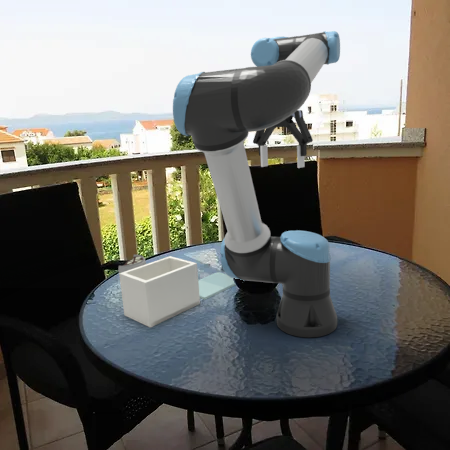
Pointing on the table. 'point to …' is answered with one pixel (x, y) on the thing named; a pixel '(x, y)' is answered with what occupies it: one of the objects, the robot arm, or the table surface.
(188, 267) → the tub
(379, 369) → the table surface
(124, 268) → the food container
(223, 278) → the lid
